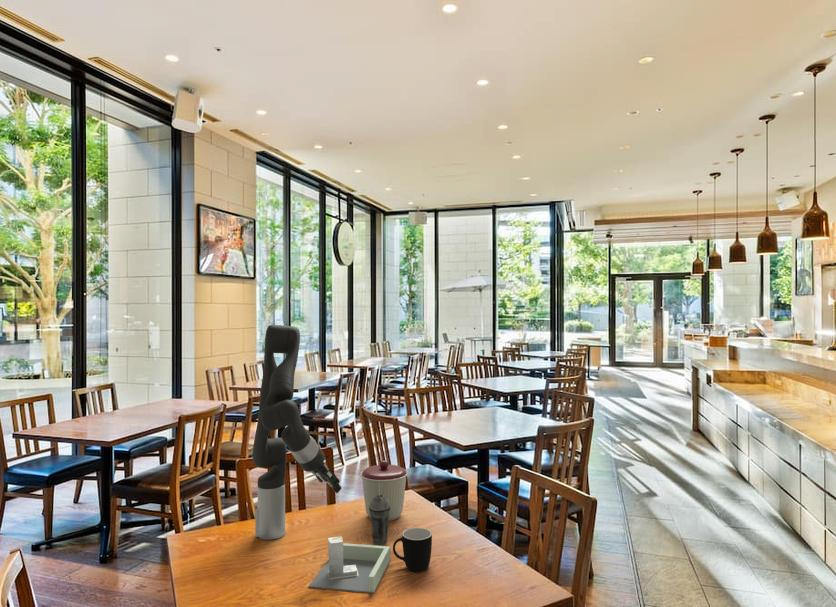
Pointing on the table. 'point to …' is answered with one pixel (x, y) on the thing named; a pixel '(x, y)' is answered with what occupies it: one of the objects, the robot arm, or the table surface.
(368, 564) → the mat
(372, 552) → the corner walls
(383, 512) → the beverage cup
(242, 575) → the table surface
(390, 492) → the canister
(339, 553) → the bracket
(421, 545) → the mug
